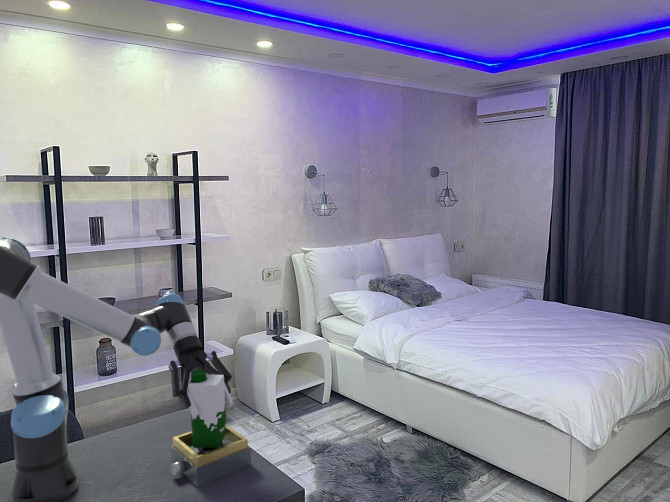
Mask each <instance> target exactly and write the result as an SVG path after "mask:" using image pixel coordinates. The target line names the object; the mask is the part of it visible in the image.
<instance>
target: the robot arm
mask: <svg viewBox="0 0 670 502" xmlns="http://www.w3.org/2000/svg"><path fill="white" fill-rule="evenodd" d="M35 305H37V306H39V307H41V308H43V309H45V310H48V311H50V312H52V313H54V314H56V315H59V316H61V317H62V318H63V317H64V318H65V319H67V320H69V321H72V322H74V323H76V324H79V325H81V326H83V327H85V328H88V329H89V330H92V331H94V332H97V333H99V334H101V335H103V336H105V337H106V338H110V339H112V340H115V341H116V342H117V343H118V342H119V343H120V344H123V345H124V346H126V347H129V348H131V349H132V351H133V352H134V353H135V354H137V355H139V356H142V357H143V356H144V357H146V356H150V355H153V354H154V353H156V352H157V351H158V350H159V348H160V347H161V343H162V336H161V334H162V333H164V332H167V335H168V338H169V340H170V343H171V346H173V351H174V353H175V356H176V358H177V360H171V361H170V363H169V365H168V369H169V371H170V375H171V385H172V386H171V388H172V397H174V398H179V399H180V400H182V403H183V406H184V407H185V408H186V409H189V413H190V416H191V415H192V417H193V419H196V418H197V416H198V415H199V413H198V411H197V408H196V406H195V403H194V400H193V398H192V396H191V395H190V393H189V392H188V390H189V387H188V385H189V383H190V378H191V372H193V371H196V370H205V371H206V375H211V374H215V375H224V388H225V406H226V408H227V409H230V408H231V407H232V406H233V404H234V401H233V399H232V396H231V393H232V391H231V390H232V389H231V387H230V385H229V383H230V381H231V380H232V379H233V376H232V374H231V373H230V372H229V369H227V368H226V366H225V365H224V364H223V363H222V361H221V360H220V358H219V357H218V354H217V352H216V351H215V350H213V351H211V352H209V353H207V352H206V351H204V349H203V348H204V347H203V345H202V343H201V340H200V338H199V336H198V333H197V331H196V328H195V326H194V324H193V321H192V319H191V316H190V314H189V312H188V310H187V309H188V308H187V307H186V304H185V303H184V301H183V299H182V296H180V294H178V293H167V294H165V295H163V296H162V297H160V298H159V299H158V300H157V301H156V307H154V308H151V309H148V310H145V311H143V312H140V313H137V314H135V315H133V314H130V313H128V312H126V311H123V310H122V309H120V308H117V307H115V306H113V305H111V304H109V303H108V302H105V301H103V300H101V299H99V298H98V297H95V296H92V295H91V294H88V293H86V292H85V291H83V290H80V289H79V288H76V287H74V286H72V285H70V284H69V283H66V282H64V281H62V280H60V279H58V278H55V276H54V277H53V276H51V275H49V274H48V273H45V272H43V271H42V270H41V268H40V265H39V264H36V263H35V262H33V261H31V253H30V250H29V249H28V248H27V247H26V246H25V245H24V244H23V243H22V242H21V241H19V240H17V239H15V238H11V237H8V236H7V237H4V236H3V237H0V329H1V332H2V336H3V339H4V343H5V346H6V350H7V353H8V357H9V360H10V363H11V368H12V371H13V373H14V378H15V382H16V385H15V387H14V388H13V390H12V395H13V398H14V402H15V407H14V408H13V410H12V412H11V414H10V415H11V416H10V417H11V418H10V427H11V430H12V440H13V451H14V463H15V473H14V477H13V479H12V480H13V481H12V482H11V483H12V484H11V486H10V490H9V498H10V502H62V501H64V500H66V499H67V498H68V497H70V496H72V495H73V494H74V493H75V491H76V490H77V489H78V487H79V476H78V473H77V471H76V469H75V466H74V465H73V463H72V461H71V459H70V456H69V447H68V436H67V435H68V434H67V422H68V421H67V420H68V411H69V407H70V399H69V395H68V393H67V391H66V389H65V388H64V385H63V383H62V379H61V376H60V375H58V374H56V373H54V371H53V369H52V366H51V362H50V359H49V355H48V350H47V347H46V344H45V340H44V337H43V336H44V335H43V333H42V329H41V325H40V322H39V318H38V315H37V314H38V313H37V311H36V308H35ZM207 359H208V360H207ZM210 362H211V363H210ZM211 364H212V365H211ZM179 367H181V368H182V369H183V370H184V371H183V377H182V382H181V389H180V378H179Z"/></svg>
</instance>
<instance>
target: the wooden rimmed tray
mask: <svg viewBox="0 0 670 502" xmlns="http://www.w3.org/2000/svg"><path fill="white" fill-rule="evenodd" d="M248 444H249V439H248V438H246V437H245V436H244V435H243V434H241V433H240V432H238V431H236V430H234V429H233V428H232V427H230V426H229V425H227V424H226V430H225V437H224V439H223V441H222V443H221V445H220V447H219V448H193V438H192V430H191V431H188V432H185V433H182V434H179V435H176V436H173V437H172V445H171V446H170V456H171V457H170V458H171V464H170V465H169V469H170V470H169V471H170V473H171V475H172V476H173V477H174V476H177V475H178V474H181V473H182V474H183V475H184V476H185V477H186V478H187V479H188V480H189V481H190V482H191V483H192V484H193V485H194V486H195V487H196V488H199V487H201V486H204V485H206V484H208V483H211V482H213V481H216V480H218V479H220V478H223V477H226V476H229V475H230V474H233V473H235V472H238V471H241V470H243V469H245V468H248V467H250V466H251V465H252V457H251V456H252V454H251V453H252V452H251V447H250V446H249V445H248Z"/></svg>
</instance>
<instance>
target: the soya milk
mask: <svg viewBox="0 0 670 502" xmlns="http://www.w3.org/2000/svg"><path fill="white" fill-rule="evenodd" d="M188 393H190V395H191V396H192V398H193V400H194V403H195V406H196V408H197V411H198V413H199V415H198V416H197V418H196V419H193V417H192V415H191V414H190V423H191V431H192V438H193V448H219V447H220V445H221V443H222V441H223V439H224V437H225V430H226V425H227V416H226V415H227V414H226V413H227V412H226V408H227V407H226V403H225V388H224V375H215V374H211V375H208V374H207V373H206V371H205V370H196V371H193V372H190V380H189V383H188Z"/></svg>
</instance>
